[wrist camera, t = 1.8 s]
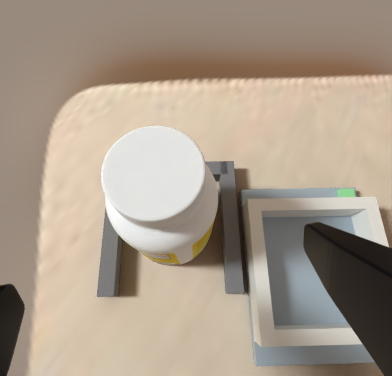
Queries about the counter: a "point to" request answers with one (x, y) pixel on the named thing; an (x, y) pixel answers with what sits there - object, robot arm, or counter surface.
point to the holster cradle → (230, 235)
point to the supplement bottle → (160, 194)
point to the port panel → (300, 274)
